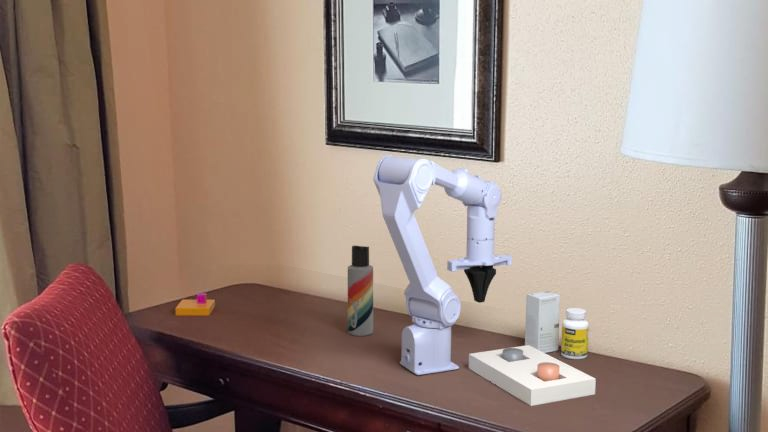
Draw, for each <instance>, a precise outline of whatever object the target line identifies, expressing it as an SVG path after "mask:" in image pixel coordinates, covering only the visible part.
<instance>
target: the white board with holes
mask: <svg viewBox="0 0 768 432" xmlns="http://www.w3.org/2000/svg"><path fill="white" fill-rule="evenodd" d="M507 348H508V347H507ZM507 348H501V349H500V348H499V349H493V350H487V351H486V350H485V351H479V352H474V353H473V352H472V353H468V369H469V370H471V371H472V372H474V373H476V374H477V375H479V376H480V377H482V378H484V379H485V380H487V381H489V382H490V381H491V382H490V383H492V384H494V385H495V384H496V385H495V386H497V387H499V388H500V389H502V390H504V391H506V392H507V393H508V394H511V395H512V396H514V397H515V398H517V399H518V400H520V401H522V402H523V403H526V404H527V405H529V406H530V407H533V406H538V405H544V404H549V403H554V402H560V401H565V400H570V399H571V400H572V399H577V398H581V397H582V398H583V397H588V396H593V395H596V383H597V382H596V378H595V377H593V376H591V375H590V374H587V373H586V372H583V371H582V370H580V369H577V368H575V367H573V366H571V365H570V364H567V363H566V362H563V361H561V360H560V359H557V358H555V357H553V356H551V355H549V354H548V353H543V352H541V351H539V350H537V349H535V348H533V347H531V346H529V345H526V346H525V345H521V346H515V347H513V346H511V348H517V349H520V350H522V351H523V360H519V361H513V362H508V361H506V360H504V359H502V356H503V350H504V349H507ZM545 362H548V363H555V364H557V365H559V379H558V380H552V381H546V382H544V381H542V380H540V379H539V378H537V365H538V364H539V363H545Z"/></svg>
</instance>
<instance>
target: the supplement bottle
mask: <svg viewBox="0 0 768 432" xmlns="http://www.w3.org/2000/svg"><path fill="white" fill-rule="evenodd" d="M565 317H566V318H565V319H563V320H562V323H561V325H562V326H561V340H560V342H561V343H560V344H561V348H560V355H561V356H562V357H563V358H565V359H570V360H584V359H585V358H587V357H588V353H589V351H588V349H589V348H588V347H589V333H590V332H589V331H590V330H589V328H590V325H589V324H590V323H589V322H588V321H587V320H586V318H587V310H586V309H584V308H580V307H569V308H567V309H566V312H565Z"/></svg>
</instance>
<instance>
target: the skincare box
mask: <svg viewBox="0 0 768 432" xmlns="http://www.w3.org/2000/svg"><path fill="white" fill-rule="evenodd" d="M525 298H526V300H525V301H526V302H525V303H526V304H525V327H524V328H525V331H524V333H525V336H524V346H526V345H529V346H531V347H533V348H535V349H537V350H539V351H541V352H543V353H545V354H548V353H552V352H557V351H558V350H559V340H560V339H559V336H560V310H561V309H560V307H561V306H560V304H561V294H558V293H554V292H551V291H548V290H547V291H539V292H534V293H528V294H526V297H525Z"/></svg>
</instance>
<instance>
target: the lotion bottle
mask: <svg viewBox="0 0 768 432" xmlns="http://www.w3.org/2000/svg"><path fill="white" fill-rule="evenodd" d="M373 332H374V267H373V265H371V264H370V246H364V245H363V246H362V245H352V246H351V264H350V265H348V266H347V333H348V334H349V335H352V336H355V337H357V336H358V337H364V336H369V335H372V334H373Z"/></svg>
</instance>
